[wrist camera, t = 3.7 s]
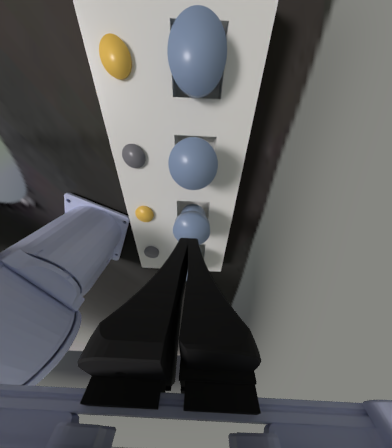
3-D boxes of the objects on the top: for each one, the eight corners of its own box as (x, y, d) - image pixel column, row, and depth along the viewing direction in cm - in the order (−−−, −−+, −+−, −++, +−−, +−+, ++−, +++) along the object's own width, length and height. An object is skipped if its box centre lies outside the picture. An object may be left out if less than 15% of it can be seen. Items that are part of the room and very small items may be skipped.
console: (219, 259, 23) (220, 273, 21) (147, 255, 24) (141, 269, 21) (266, 6, 10) (287, -34, 7) (92, -2, 10) (58, -44, 7)
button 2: (207, 228, 17) (208, 246, 15) (178, 226, 17) (173, 245, 15) (210, 201, 15) (212, 216, 13) (177, 199, 15) (171, 214, 13)
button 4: (217, 104, 12) (222, 96, 10) (176, 102, 12) (169, 93, 10) (224, 39, 10) (232, 6, 8) (174, 37, 10) (165, 3, 8)
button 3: (212, 179, 14) (214, 191, 11) (176, 177, 14) (169, 189, 11) (216, 136, 12) (221, 138, 9) (174, 134, 12) (166, 136, 9)
